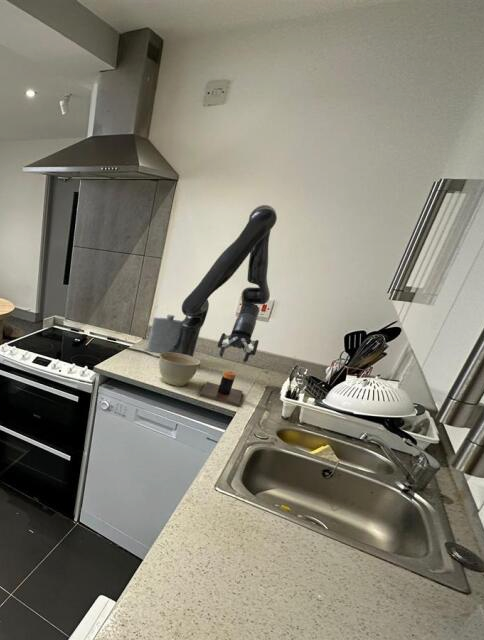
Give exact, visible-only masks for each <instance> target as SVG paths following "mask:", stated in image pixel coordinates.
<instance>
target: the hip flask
mask: <svg viewBox="0 0 484 640" xmlns="http://www.w3.org/2000/svg"><path fill="white" fill-rule="evenodd" d="M175 316H176V315H173V314H167V315H166V317H153V319H152V324H151V329H150V333H149V337H148V340H147V341H148V342H147V347H146V351H148V352H152V353H158V354H162V353H164V352H168V351H170V350H171V349H172V348H173V347H174V344H175V343H176V339H177V335H178V331H179V327H180V324H181V322H182V321H183V320H179V319H174V318H175Z"/></svg>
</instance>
